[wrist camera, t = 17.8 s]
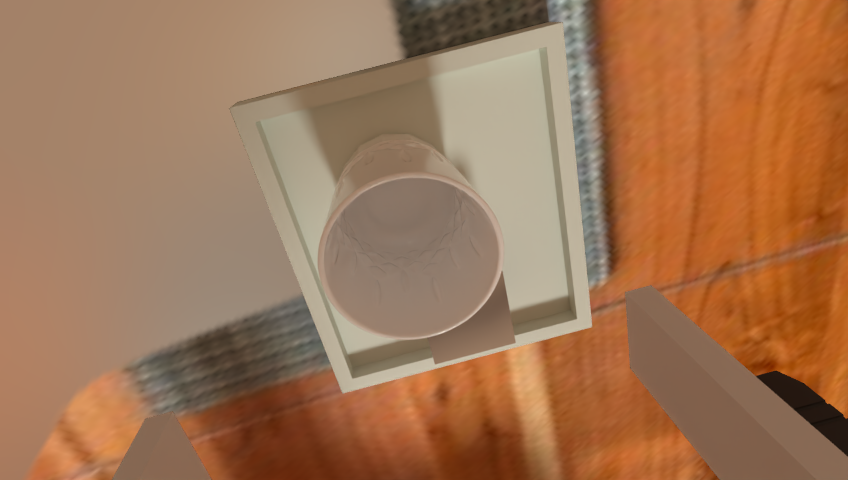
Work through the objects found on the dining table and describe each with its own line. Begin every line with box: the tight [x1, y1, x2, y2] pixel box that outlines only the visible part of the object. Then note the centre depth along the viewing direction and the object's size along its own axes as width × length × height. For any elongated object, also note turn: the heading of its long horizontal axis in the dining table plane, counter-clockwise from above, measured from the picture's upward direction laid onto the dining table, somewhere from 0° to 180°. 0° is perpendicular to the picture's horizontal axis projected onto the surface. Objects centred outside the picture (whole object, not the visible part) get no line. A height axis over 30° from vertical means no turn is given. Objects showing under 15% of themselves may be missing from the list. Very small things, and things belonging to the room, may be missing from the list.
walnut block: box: [428, 272, 516, 364], centre depth 31 cm, size 5×5×5 cm
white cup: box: [318, 134, 504, 340], centre depth 25 cm, size 8×8×10 cm
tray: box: [229, 22, 592, 393], centre depth 31 cm, size 20×18×2 cm
